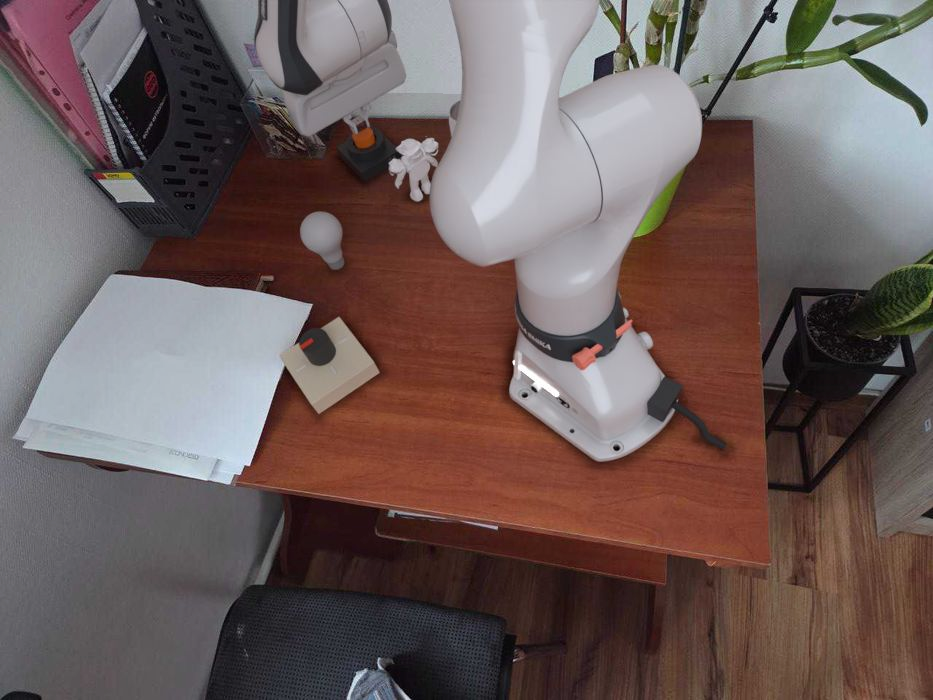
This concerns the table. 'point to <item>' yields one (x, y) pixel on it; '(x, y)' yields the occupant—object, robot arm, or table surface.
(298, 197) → the table surface
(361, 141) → the power button
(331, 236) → the lightbulb
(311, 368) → the timer panel
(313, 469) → the table surface
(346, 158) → the black button housing
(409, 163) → the white figurine
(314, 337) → the timer knob
